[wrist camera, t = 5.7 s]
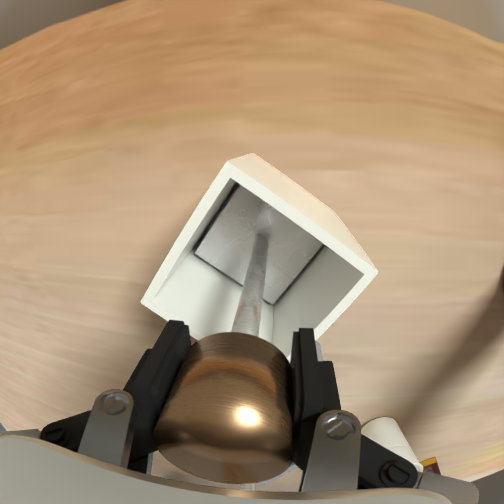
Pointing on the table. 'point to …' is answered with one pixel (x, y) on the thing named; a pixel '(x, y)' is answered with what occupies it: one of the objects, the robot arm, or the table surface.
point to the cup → (390, 438)
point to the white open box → (228, 290)
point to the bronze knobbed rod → (239, 356)
